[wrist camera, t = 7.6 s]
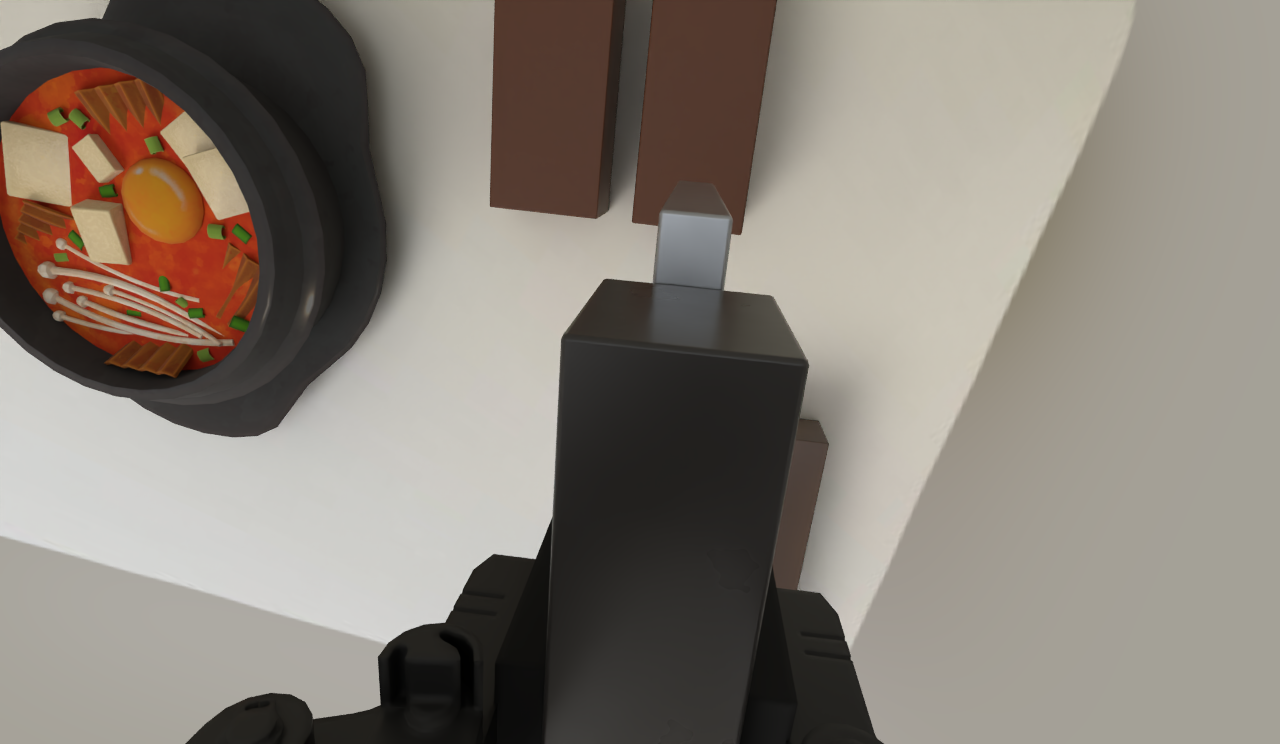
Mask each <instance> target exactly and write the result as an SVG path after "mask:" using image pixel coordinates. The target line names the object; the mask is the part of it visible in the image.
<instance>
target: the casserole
mask: <svg viewBox="0 0 1280 744" xmlns="http://www.w3.org/2000/svg"><path fill="white" fill-rule="evenodd" d="M386 261H387V254H386V222H385V218H384V213H383V209H382V204H381V199H380V195H379V190H378V185H377V181H376V176H375V172H374V167H373V163H372V158H371V154H370V149H369V119H368V99H367V87H366V74H365V69H364V66H363V64H362V61H361V59H360V57H359V54H358V52H357V50H356V47H355V45H354V43H353V40H352V38H351V37H350V35H349V34H348V33H347V32H346V30H345V29H344V28H343V27H342V26H341V24H340V23H339V22H338V21H337V19H336V18H335V17H334V16H333V15H332V13H331V12H330V11H329V10H328V9H327V8H326V7H325V6H324V5H323V4H321V3H320V2H319V1H318V0H110V2H109V5H108V7H107V9H106V12H105V14H104V16H103V18H102V19H97V18H89V19H81V20H74V21H66V22H58V23H54V24H52V25H50V26H47V27H45V28H42V29H40V30H37V31H35V32H32V33H30V34H28V35H25V36H23V37H22V38H21V39H19V40H18V41H17V42H16V43H14V44H13V45H12V46H10V47H7V48H5V49H3V50H0V327H1V328H2V329H3V330H4V331H5V332H6V333H7V334H8V335H10V336H11V337H12V338H13V339H14V340H15V341H16V342H17V343H18V344H19V345H20V346H21V347H22V348H23V349H25V350H26V351H27V352H28V353H30V354H31V355H33V356H34V357H35V358H37V359H38V360H40V361H41V362H43V363H44V364H45V365H47V366H48V367H50V368H51V369H53V370H54V371H56V372H58V373H60V374H62V375H64V376H66V377H68V378H70V379H72V380H74V381H76V382H77V383H79V384H81V385H83V386H86V387H89V388H92V389H95V390H98V391H101V392H104V393H108V394H111V395H114V396H119V397H126V398H130V399H132V400H133V401H135V402H136V403H138V404H139V405H140V406H142V407H143V408H145V409H147V410H149V411H151V412H153V413H155V414H157V415H159V416H161V417H163V418H165V419H167V420H169V421H170V422H172V423H175V424H178V425H181V426H184V427H187V428H190V429H193V430H197V431H200V432H203V433H208V434H214V435H221V436H228V437H246V436H258V435H260V434H263V433H265V432H267V431H269V430H271V429H274V428H276V427H278V425H279V424H280V422H281V421H282V420H283V418H284V417H285V416H286V414H287V413H288V412H289V410H290V409H291V408H292V406H293V405H294V404H295V402H296V401H297V399H298V398H299V397H300V395H301V394H302V393H303V391H304V390H305V389H306V387H307V386H308V385H309V384H310V383H311V382H312V381H313V380H315V379H316V378H317V377H318V376H319V375H320V374H322V373H323V372H324V371H325V370H326V369H327V368H329V367H330V366H331V365H332V364H333V363H334V362H336V361H337V360H338V359H339V358H340V357H341V356H342V355H344V354H345V353H346V352H347V351H348V350H349V349H350V348H352V346H353V345H354V343H355V342H356V340H357V339H358V338H359V336H360V335H361V333H362V332H363V330H364V329H365V328H366V326H367V325H368V323H369V321H370V319H371V316H372V314H373V311H374V309H375V306H376V304H377V302H378V299H379V297H380V294H381V289H382V284H383V278H384V272H385V267H386Z"/></svg>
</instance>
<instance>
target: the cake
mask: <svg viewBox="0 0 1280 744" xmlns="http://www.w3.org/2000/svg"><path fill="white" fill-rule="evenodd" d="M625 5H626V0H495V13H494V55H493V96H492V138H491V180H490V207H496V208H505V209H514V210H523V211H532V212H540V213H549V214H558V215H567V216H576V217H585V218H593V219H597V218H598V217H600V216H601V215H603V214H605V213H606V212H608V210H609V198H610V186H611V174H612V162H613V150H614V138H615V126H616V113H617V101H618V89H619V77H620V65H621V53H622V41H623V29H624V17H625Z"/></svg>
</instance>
